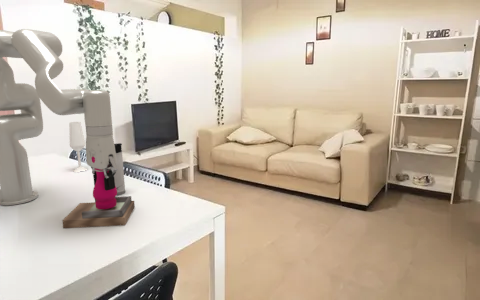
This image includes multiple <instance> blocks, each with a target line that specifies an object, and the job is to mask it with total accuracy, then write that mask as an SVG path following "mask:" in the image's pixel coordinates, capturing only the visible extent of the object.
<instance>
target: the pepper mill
mask: <svg viewBox="0 0 480 300" xmlns="http://www.w3.org/2000/svg"><path fill="white" fill-rule="evenodd" d="M92 162H93V163H95V158H94V157H93V156H92ZM108 167H110V165H108V166H107V168H108ZM94 170H95V171H96V174H97V180H96V184H95V186H94V187H93V190H92V197H93V198H94V200H95V199H96V200H97V201H96V202H95V201H94V202H95V204H96V208H97V209H109V208H113V207H115V206H116V204H117V203H116V199H115V197H117V196H118V195H117V189H116V186H115V188H114V189H110V190H105V185H104V178H105V175H104V171H103V170H100V169H97V168H95V169H94ZM109 170H110V169H108V170H107V172H109Z"/></svg>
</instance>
